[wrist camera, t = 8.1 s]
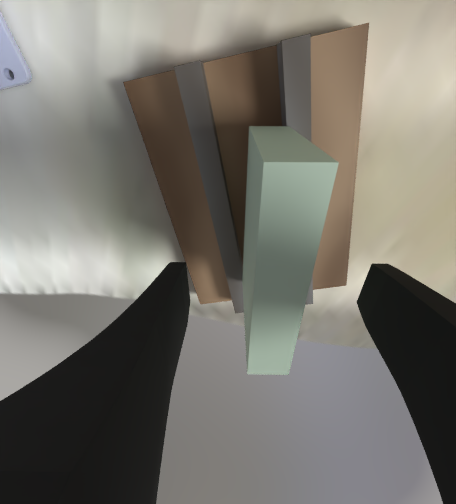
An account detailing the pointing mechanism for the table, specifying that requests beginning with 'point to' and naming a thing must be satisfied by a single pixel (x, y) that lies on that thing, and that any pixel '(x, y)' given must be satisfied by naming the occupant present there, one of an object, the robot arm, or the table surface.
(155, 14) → the table surface
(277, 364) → the grey-green rectangular block
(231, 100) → the track base
